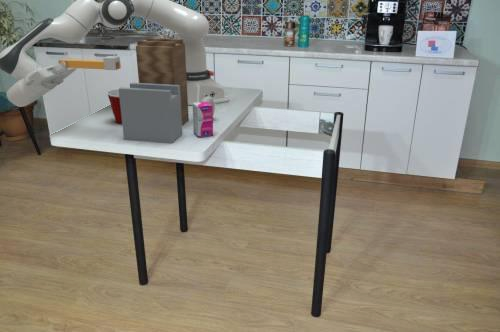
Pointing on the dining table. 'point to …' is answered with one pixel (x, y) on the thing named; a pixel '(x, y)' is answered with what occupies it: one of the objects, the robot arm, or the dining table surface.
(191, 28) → the robot arm
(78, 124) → the dining table surface
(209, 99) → the donut
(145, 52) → the walnut post
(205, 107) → the supplement box
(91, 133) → the dining table surface
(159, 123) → the block
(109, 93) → the plastic cup
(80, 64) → the orange squared block
